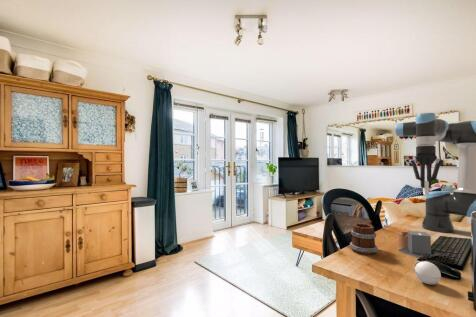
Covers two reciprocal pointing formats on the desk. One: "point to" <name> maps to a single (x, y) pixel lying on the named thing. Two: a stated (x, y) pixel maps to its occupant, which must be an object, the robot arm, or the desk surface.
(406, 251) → the shaft base
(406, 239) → the bracket
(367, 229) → the brown banded cylinder
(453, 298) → the desk surface
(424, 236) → the squarish grey box
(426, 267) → the white egg
